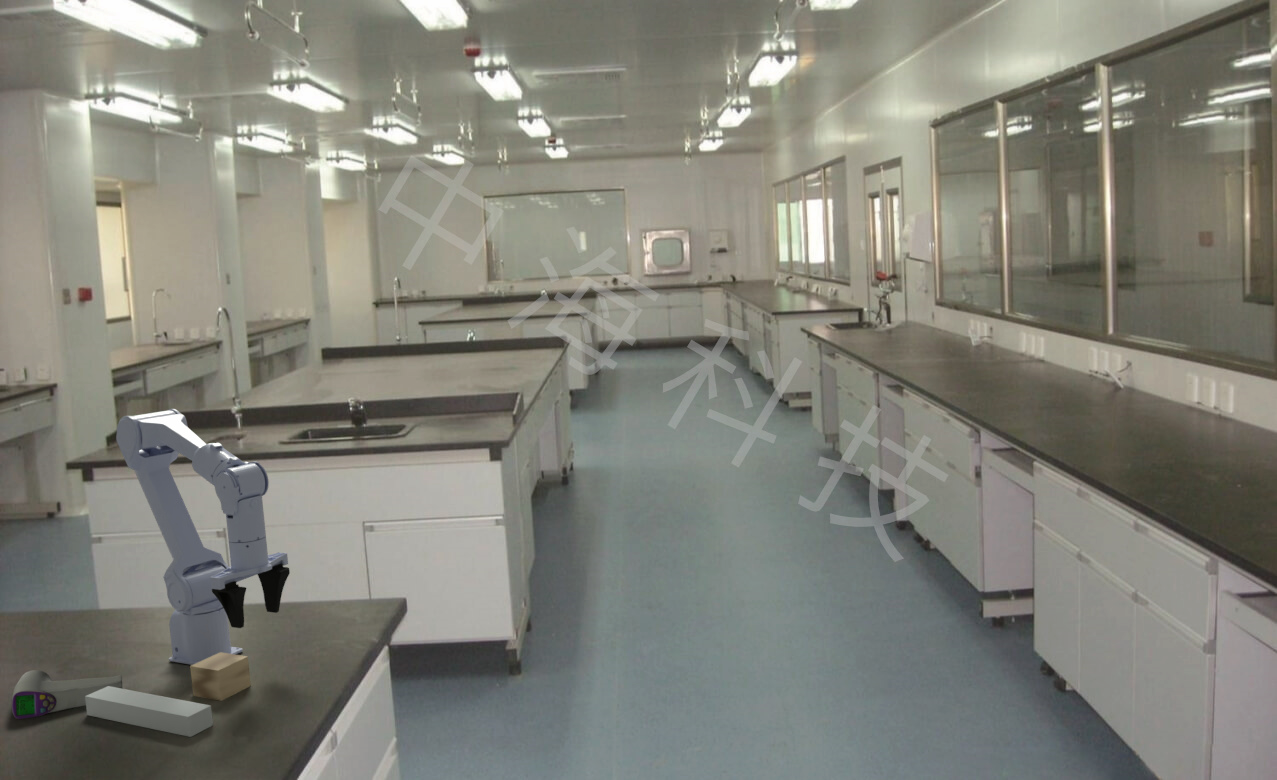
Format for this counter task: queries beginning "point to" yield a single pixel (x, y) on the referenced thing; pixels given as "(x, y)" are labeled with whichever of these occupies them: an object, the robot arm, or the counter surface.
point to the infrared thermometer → (54, 693)
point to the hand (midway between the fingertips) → (255, 619)
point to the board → (149, 711)
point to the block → (220, 676)
